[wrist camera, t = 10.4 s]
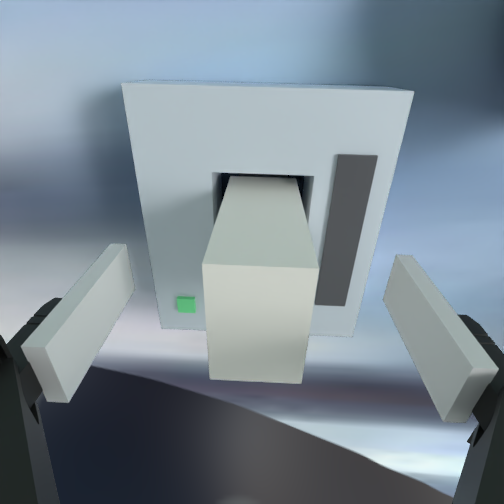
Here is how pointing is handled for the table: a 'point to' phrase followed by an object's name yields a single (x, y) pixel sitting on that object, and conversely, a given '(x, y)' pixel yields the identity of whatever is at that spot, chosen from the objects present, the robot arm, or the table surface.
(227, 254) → the plug
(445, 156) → the table surface
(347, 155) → the switch box
